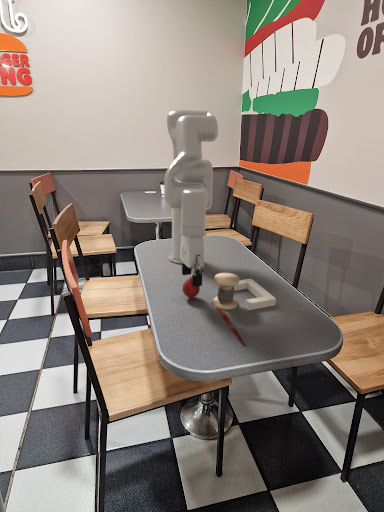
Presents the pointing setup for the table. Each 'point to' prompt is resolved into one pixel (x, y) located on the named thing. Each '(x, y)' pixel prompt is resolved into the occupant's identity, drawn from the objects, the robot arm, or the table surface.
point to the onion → (190, 289)
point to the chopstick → (229, 324)
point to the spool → (226, 291)
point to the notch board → (262, 295)
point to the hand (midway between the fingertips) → (191, 280)
